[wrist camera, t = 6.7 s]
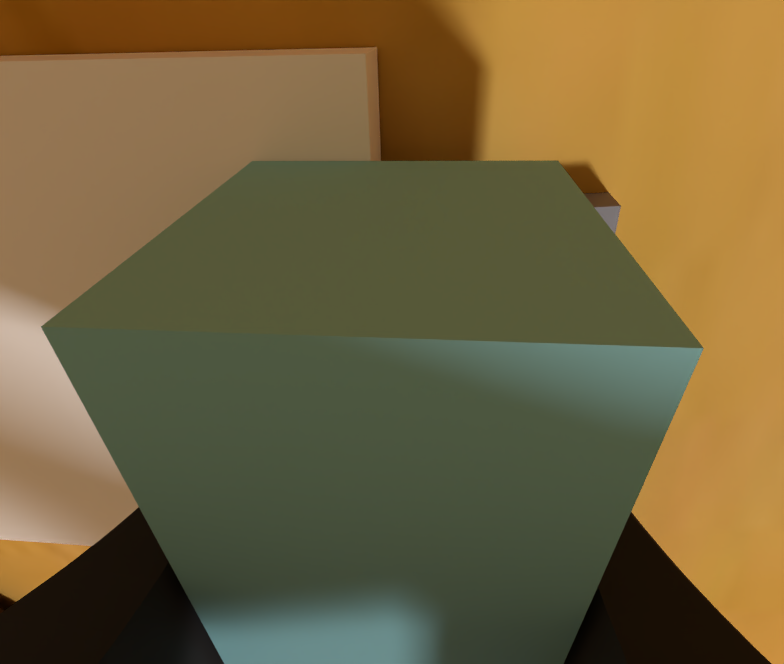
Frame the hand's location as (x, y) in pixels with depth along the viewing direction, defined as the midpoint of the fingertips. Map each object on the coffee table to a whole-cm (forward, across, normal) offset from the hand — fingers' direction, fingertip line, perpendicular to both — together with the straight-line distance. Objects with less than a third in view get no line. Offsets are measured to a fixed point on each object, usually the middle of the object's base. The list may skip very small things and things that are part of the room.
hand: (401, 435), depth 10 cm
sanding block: (+1, 0, 0) cm, 1 cm away
